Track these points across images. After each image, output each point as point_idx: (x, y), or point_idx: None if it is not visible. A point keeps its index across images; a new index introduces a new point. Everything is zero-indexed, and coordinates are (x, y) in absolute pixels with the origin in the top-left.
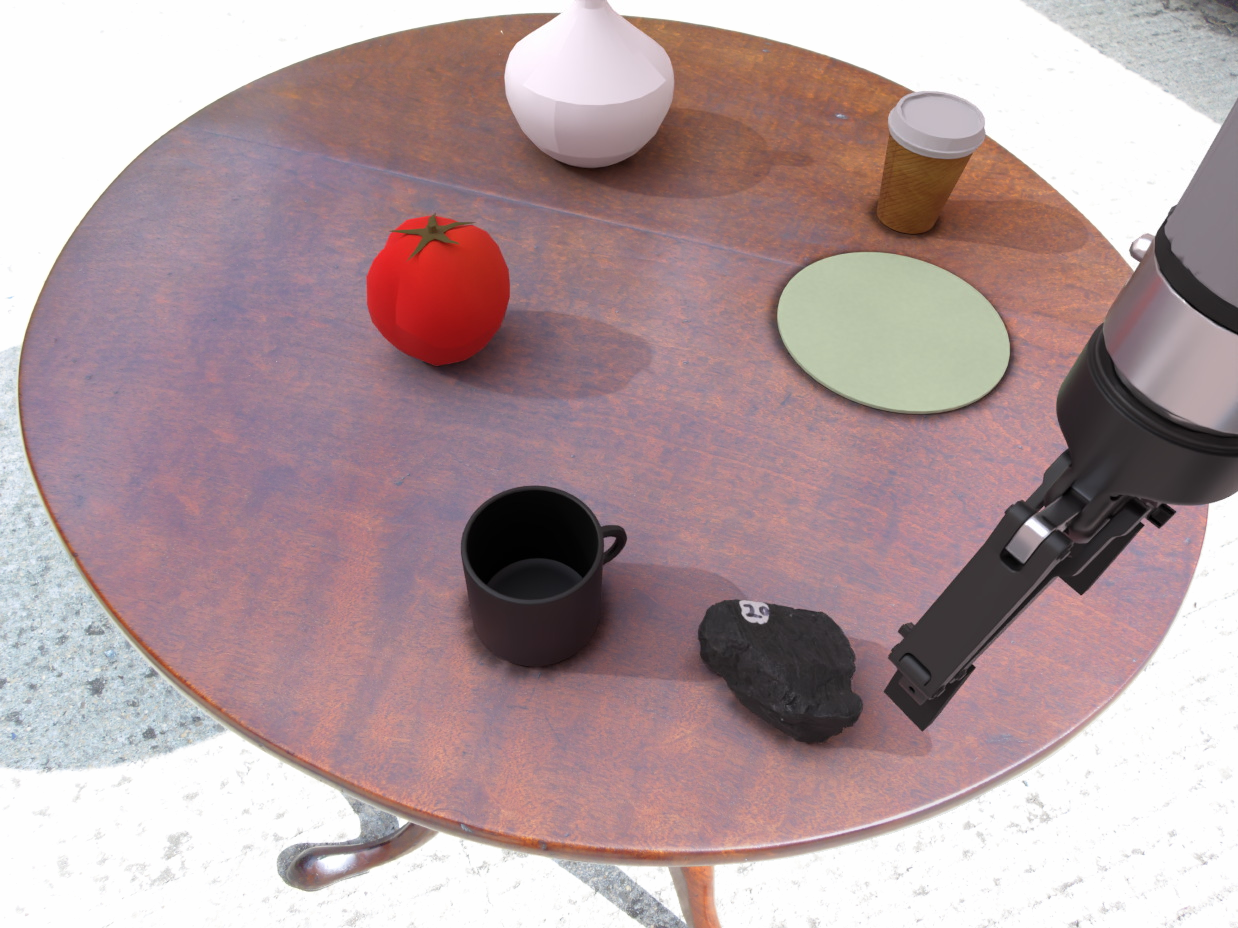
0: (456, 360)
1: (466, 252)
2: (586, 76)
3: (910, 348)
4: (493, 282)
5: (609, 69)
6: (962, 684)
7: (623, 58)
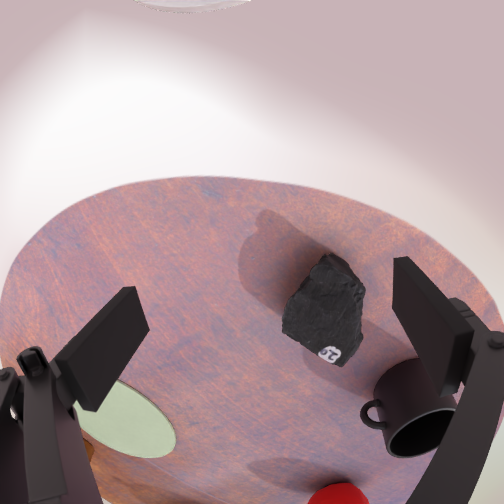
0: (345, 486)
1: None
2: None
3: (109, 408)
4: None
5: None
6: (435, 306)
7: None
